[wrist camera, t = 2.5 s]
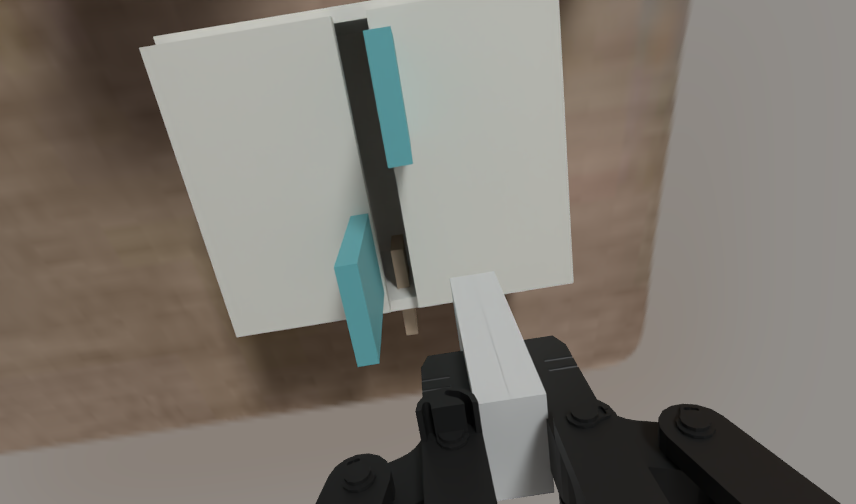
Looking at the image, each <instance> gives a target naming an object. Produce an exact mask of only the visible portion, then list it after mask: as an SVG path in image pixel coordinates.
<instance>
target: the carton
mask: <svg viewBox="0 0 856 504" xmlns="http://www.w3.org/2000/svg"><path fill="white" fill-rule="evenodd" d="M419 1H425V0H371V1H365V2H359V3H353V4H347V5H341V6H335V7H329V8H323V9H317V10H311V11H305V12H299V13H293V14H287V15H281V16H275V17H269V18H262V19H256V20H250V21H244V22H238V23H232V24H226V25H220V26H214V27H208V28H202V29H196V30H190V31H184V32H178V33H172V34H166V35H159V36H153V38H154V41H155V44H156V45H158V44H164V43H170V42H176V41H182V40H189V39H195V38H201V37H207V36H213V35H219V34H225V33H231V32H237V31H243V30H249V29H255V28H261V27H267V26H273V25H279V24H285V23H292V22H298V21H304V20H310V19H316V18H322V17H328V16H331V17H332V18H333V23H334V28H335V32H336V37H337V42H338V47H339V52H340V57H341V62H342V67H343V72H344V77H345V82H346V87H347V92H348V97H349V102H350V107H351V112H352V117H353V122H354V126H355V131H356V136H357V141H358V146H359V151H360V156H361V161H362V166H363V171H364V176H365V181H366V186H367V191H368V196H369V201H370V206H371V211H372V215H373V220H374V225H375V230H376V235H377V240H378V245H379V250H380V255H381V260H382V265H383V270H384V275H385V280H386V285H387V290H388V295H389V300H390V305H391V312H393V311H399V310H402V313H403V319H404V324H405V329H406V334H407V335H413V334H418V321H417V310H416V308H417V307H419V306H418V300H417V294H416V289H415V283H414V278H413V272H412V266H411V261H410V255H409V250H408V244H407V239H406V233H405V227H404V222H403V216H402V211H401V205H400V200H399V194H398V188H397V183H396V177H395V172H394V167H392V168H388V165H387V160H386V154H385V149H384V143H383V138H382V133H381V127H380V122H379V116H378V111H377V105H376V100H375V94H374V89H373V84H372V78H371V73H370V67H369V62H368V56H367V51H366V45H365V40H364V35H363V30H369V27H368V21H367V16H366V10H370V9H376V8H382V7H388V6H395V5H401V4H407V3H413V2H419Z"/></svg>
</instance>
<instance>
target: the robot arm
mask: <svg viewBox="0 0 856 504" xmlns="http://www.w3.org/2000/svg"><path fill="white" fill-rule="evenodd" d="M450 285H451V291H452V298H453V305H454V311H455V318H456V325H457V331H458V338H459V344H460V350H461V351H458V352H451V353H445V354H438V355H432V356H428V357H427V359H426V360H425V362H424V364H423V366H422V367H421V375H422V395H423V397H422V399H421V400H420V401H419V402H418V404H417V407H416V416H417V421H418V426H419V431H420V437H421V441H420V443H419V444H418V445H417V446H416V448H415V449H414V450H412V451H411V452H410V453H408V454H407V455H405V456H403V457H401V458H399V459H397V460H394V461H392V462H389V463H387V461H386V460H385V459H383V458H382V457H380V456H378V455H373V454H361V455H355V456H353V457H350V458H348V459H346V460H344V461H343V462H341V463H340V464H339V465H337V466H336V467H335V468H334V470H333V471H332V472H331V474H330V475H329V477H328V479H327V481H326V483H325V485H324V487H323V489H322V491H321V493H320V495H319V498H318V500H317V502H316V504H497V501H500V500H506V499H514V498H520V497H526V496H534V495H540V494H546V493H554V482H553V478H554V481H555V484H556V487H557V489H558V492H559V500H560V504H840V503H839V502H838V501H836V500H835V499H834V498H832V497H831V496H830V495H828V494H827V493H826V492H824V491H823V490H822V489H820V488H819V487H818V486H816V485H815V484H814V483H812V482H811V481H809V480H808V479H807V478H805V477H804V476H803V475H801V474H800V473H799V472H797V471H796V470H795V469H793V468H792V467H791V466H789V465H788V464H787V463H785V462H784V461H783V460H781V459H780V458H779V457H777V456H776V455H775V454H773V453H772V452H771V451H769V450H768V449H767V448H765V447H764V446H763V445H761V444H760V443H758V442H757V441H756V440H754V439H753V438H752V437H751V436H749V435H748V434H747V433H745V432H744V431H742V430H741V429H740V428H738V427H737V426H736V425H734V424H733V423H732V422H730V421H729V420H728V419H726V418H725V417H724V416H722V415H720V414H719V413H717V412H715V411H713V410H712V409H709V408H706V407H702V406H699V405H692V404H679V405H674V406H670V407H668V408H667V409H665V410H663V411H662V413H661V415H660V416H659V420H658V422H648V421H636V420H630V419H625V418H622V417H619V416H617V415H616V413H615V412H614V411H613V410H612V409H611V408H610V406H609V405H607V404H605V403H603V402H601V401H599V400H597V399H596V397H595V396H594V394H593V392H592V390H591V388H590V386H589V385H588V383H587V381H586V380H585V378H584V376H583V374H582V372H581V371H580V369H579V367H577V364H576V362H575V360H574V358H572V355H571V353H570V351H569V350H568V348H567V346H566V344H564V343H563V342H561V341H560V340H558V339H557V338H555V337H554V336H547V337H540V338H534V339H527V340H523V338H522V336H521V333H520V331H519V328H518V326H517V324H516V321H515V319H514V317H513V314H512V312H511V310H510V307H509V305H508V303H507V300H506V298H505V296H504V293H503V291H502V288H501V286H500V284H499V281H498V279H497V277H496V274H495V272H494V271H492V272H485V273H479V274H472V275H466V276H460V277H453V278H450Z"/></svg>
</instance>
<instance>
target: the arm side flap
mask: <svg viewBox="0 0 856 504" xmlns="http://www.w3.org/2000/svg"><path fill="white" fill-rule="evenodd" d="M139 49H140V52H141V55H142V58H143V61H144V64H145V67H146V70H147V73H148V76H149V79H150V82H151V85H152V88H153V91H154V94H155V97H156V100H157V103H158V106H159V109H160V112H161V115H162V118H163V121H164V124H165V127H166V129H167V132H168V135H169V138H170V141H171V144H172V147H173V150H174V153H175V156H176V159H177V162H178V165H179V168H180V171H181V174H182V177H183V180H184V183H185V186H186V189H187V192H188V195H189V198H190V201H191V204H192V207H193V210H194V212H195V215H196V218H197V221H198V224H199V227H200V230H201V233H202V236H203V239H204V242H205V245H206V248H207V251H208V254H209V257H210V260H211V263H212V266H213V269H214V272H215V275H216V278H217V281H218V284H219V287H220V290H221V292H222V295H223V298H224V301H225V304H226V307H227V310H228V313H229V316H230V319H231V322H232V325H233V328H234V331H235V334H236V337H242V336H248V335H254V334H260V333H267V332H273V331H279V330H285V329H291V328H298V327H304V326H310V325H316V324H322V323H329V322H335V321H341V320H347V324H348V329H349V333H350V337H351V341H352V345H353V349H354V353H355V358H356V362H357V366H358V367H361V366H367V365H373V364H379V362H380V348H381V333H382V319H383V314H384V313H390V312H391V305H390V300H389V295H388V290H387V285H386V280H385V275H384V270H383V265H382V260H381V255H380V250H379V245H378V240H377V235H376V230H375V225H374V220H373V215H372V211H371V206H370V201H369V196H368V191H367V186H366V181H365V176H364V171H363V166H362V161H361V156H360V151H359V146H358V141H357V136H356V131H355V126H354V122H353V117H352V112H351V107H350V102H349V97H348V92H347V87H346V82H345V77H344V72H343V67H342V62H341V57H340V52H339V47H338V42H337V37H336V32H335V28H334V23H333V18H332V17H331V16H328V17H322V18H316V19H310V20H304V21H298V22H292V23H285V24H279V25H273V26H267V27H261V28H255V29H249V30H243V31H237V32H231V33H225V34H219V35H213V36H207V37H201V38H195V39H189V40H182V41H176V42H170V43H164V44H158V45H152V46H146V47H140V48H139Z"/></svg>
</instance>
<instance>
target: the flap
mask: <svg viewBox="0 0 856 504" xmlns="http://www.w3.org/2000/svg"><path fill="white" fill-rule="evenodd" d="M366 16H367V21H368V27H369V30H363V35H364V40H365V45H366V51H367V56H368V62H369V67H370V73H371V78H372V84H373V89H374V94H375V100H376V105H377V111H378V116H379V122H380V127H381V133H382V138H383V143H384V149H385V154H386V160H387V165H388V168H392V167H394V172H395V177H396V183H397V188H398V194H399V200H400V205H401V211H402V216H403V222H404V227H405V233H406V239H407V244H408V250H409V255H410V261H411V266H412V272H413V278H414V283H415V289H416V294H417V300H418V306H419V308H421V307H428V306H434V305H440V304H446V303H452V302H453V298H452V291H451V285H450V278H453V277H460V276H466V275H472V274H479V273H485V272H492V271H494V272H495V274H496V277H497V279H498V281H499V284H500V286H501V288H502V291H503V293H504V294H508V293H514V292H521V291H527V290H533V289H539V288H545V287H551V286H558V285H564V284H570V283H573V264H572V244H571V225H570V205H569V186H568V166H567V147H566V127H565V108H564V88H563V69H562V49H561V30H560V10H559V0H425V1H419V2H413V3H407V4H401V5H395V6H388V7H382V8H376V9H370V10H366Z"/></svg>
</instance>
